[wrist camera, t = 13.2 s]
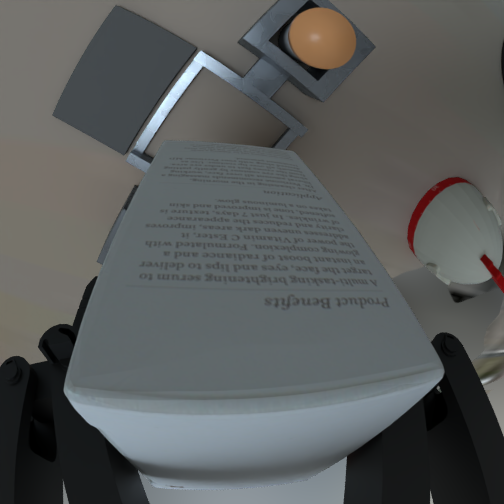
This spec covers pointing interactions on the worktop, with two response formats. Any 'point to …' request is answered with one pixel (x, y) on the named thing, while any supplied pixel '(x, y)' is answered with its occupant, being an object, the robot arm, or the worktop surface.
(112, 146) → the mat
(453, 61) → the worktop surface
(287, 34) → the plunger
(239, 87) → the housing
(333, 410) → the small box
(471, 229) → the white red kettle
